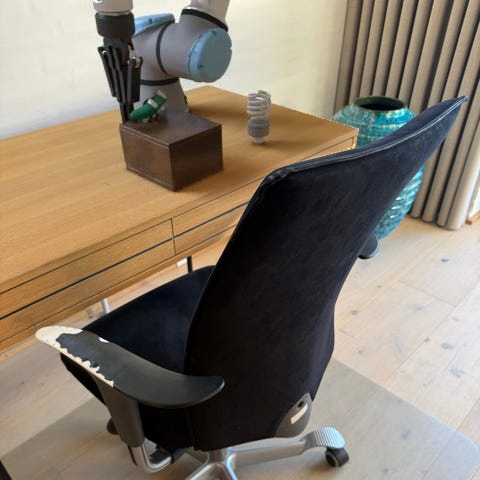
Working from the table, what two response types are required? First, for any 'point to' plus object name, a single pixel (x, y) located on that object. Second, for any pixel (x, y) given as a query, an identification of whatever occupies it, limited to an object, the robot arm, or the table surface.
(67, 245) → the table surface
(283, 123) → the table surface
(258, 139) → the light bulb
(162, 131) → the cabinet
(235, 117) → the table surface
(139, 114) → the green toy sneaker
